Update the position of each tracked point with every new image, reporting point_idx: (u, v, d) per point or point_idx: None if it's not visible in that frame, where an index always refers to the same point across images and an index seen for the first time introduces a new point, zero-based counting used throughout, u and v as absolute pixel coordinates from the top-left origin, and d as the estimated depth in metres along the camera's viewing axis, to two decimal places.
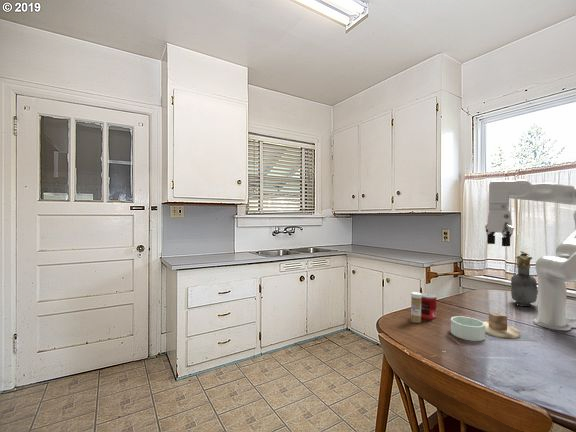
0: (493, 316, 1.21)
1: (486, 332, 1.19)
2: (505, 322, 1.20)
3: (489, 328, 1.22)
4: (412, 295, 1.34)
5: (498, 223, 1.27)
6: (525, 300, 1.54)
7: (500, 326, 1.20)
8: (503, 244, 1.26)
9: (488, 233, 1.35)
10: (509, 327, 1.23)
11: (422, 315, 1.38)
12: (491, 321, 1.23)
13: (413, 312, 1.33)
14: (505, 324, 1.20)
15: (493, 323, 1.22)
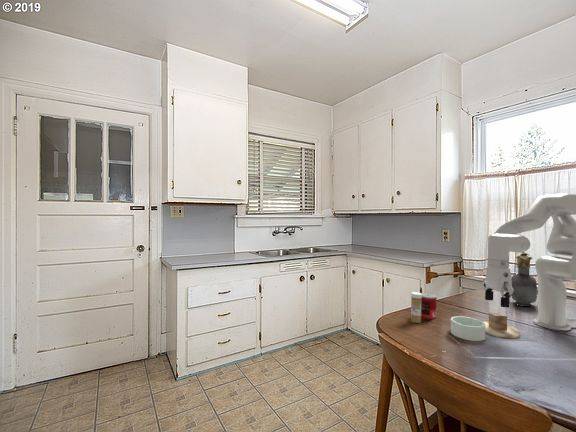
0: (493, 316, 1.21)
1: (486, 332, 1.19)
2: (505, 322, 1.20)
3: (489, 328, 1.22)
4: (412, 295, 1.34)
5: (497, 281, 1.19)
6: (525, 300, 1.54)
7: (500, 326, 1.20)
8: (502, 305, 1.17)
9: (486, 288, 1.27)
10: (509, 327, 1.23)
11: (422, 315, 1.38)
12: (491, 321, 1.23)
13: (413, 312, 1.33)
14: (505, 324, 1.20)
15: (493, 323, 1.22)
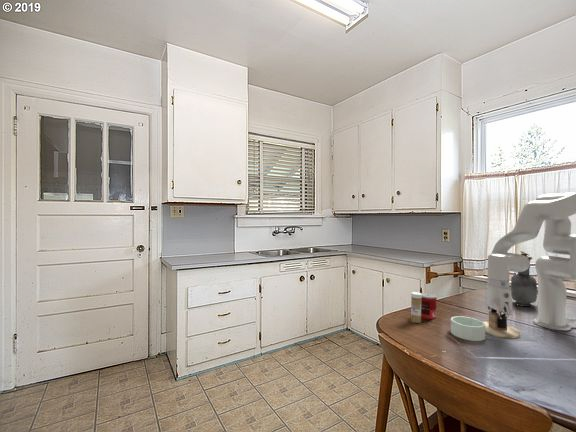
0: (493, 316, 1.21)
1: (486, 332, 1.19)
2: None
3: (489, 328, 1.22)
4: (412, 295, 1.34)
5: (497, 302, 1.19)
6: (525, 300, 1.54)
7: None
8: (499, 326, 1.20)
9: (490, 311, 1.25)
10: (509, 327, 1.23)
11: (422, 315, 1.38)
12: (491, 321, 1.23)
13: (413, 312, 1.33)
14: None
15: (493, 323, 1.22)
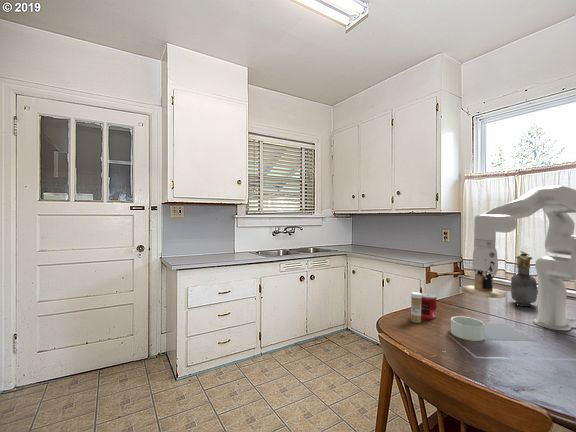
0: (479, 277, 1.20)
1: (471, 292, 1.18)
2: None
3: (475, 289, 1.20)
4: (412, 295, 1.34)
5: (483, 262, 1.17)
6: (525, 300, 1.54)
7: None
8: (484, 286, 1.18)
9: (476, 273, 1.23)
10: (495, 289, 1.21)
11: (422, 315, 1.38)
12: (477, 283, 1.21)
13: (413, 312, 1.33)
14: None
15: (478, 285, 1.20)
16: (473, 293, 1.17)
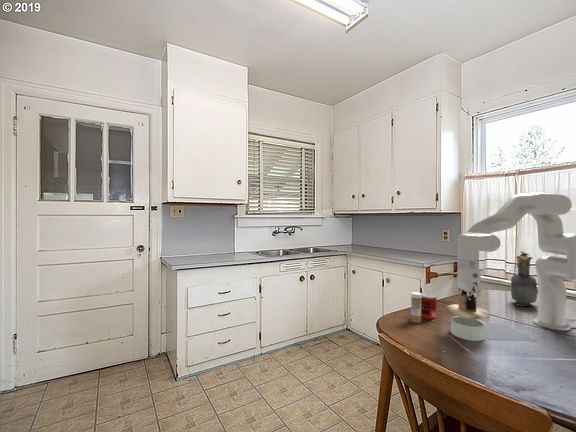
0: (462, 297, 1.18)
1: (454, 313, 1.16)
2: (475, 303, 1.17)
3: (458, 310, 1.19)
4: (412, 295, 1.34)
5: (466, 282, 1.16)
6: (525, 300, 1.54)
7: None
8: (468, 307, 1.16)
9: (460, 293, 1.21)
10: (479, 309, 1.20)
11: (422, 315, 1.38)
12: (461, 303, 1.19)
13: (413, 312, 1.33)
14: None
15: (462, 305, 1.18)
16: (456, 314, 1.15)
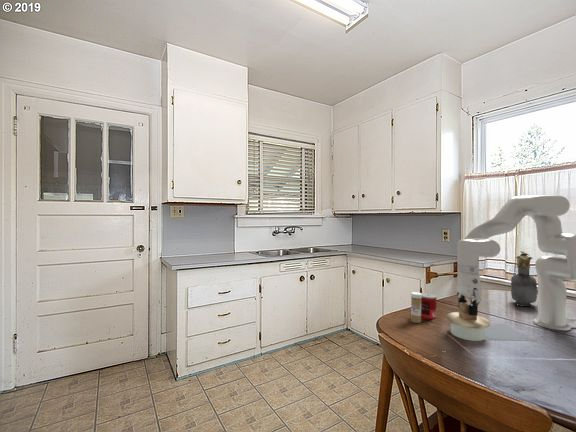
0: (463, 306, 1.18)
1: (455, 322, 1.16)
2: None
3: (459, 318, 1.19)
4: (412, 295, 1.34)
5: (466, 288, 1.16)
6: (525, 300, 1.54)
7: (470, 316, 1.17)
8: (470, 313, 1.15)
9: (459, 297, 1.23)
10: (480, 317, 1.20)
11: (422, 315, 1.38)
12: (461, 311, 1.19)
13: (413, 312, 1.33)
14: None
15: (462, 313, 1.18)
16: (457, 323, 1.15)
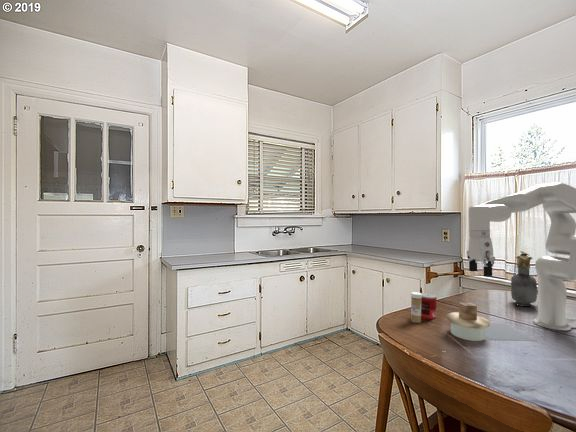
0: (463, 306, 1.18)
1: (455, 322, 1.16)
2: (475, 312, 1.17)
3: (459, 318, 1.19)
4: (412, 295, 1.34)
5: (479, 251, 1.20)
6: (525, 300, 1.54)
7: (470, 316, 1.17)
8: (485, 274, 1.18)
9: (470, 260, 1.28)
10: (480, 317, 1.20)
11: (422, 315, 1.38)
12: (461, 311, 1.19)
13: (413, 312, 1.33)
14: (475, 314, 1.17)
15: (462, 313, 1.18)
16: (457, 323, 1.15)
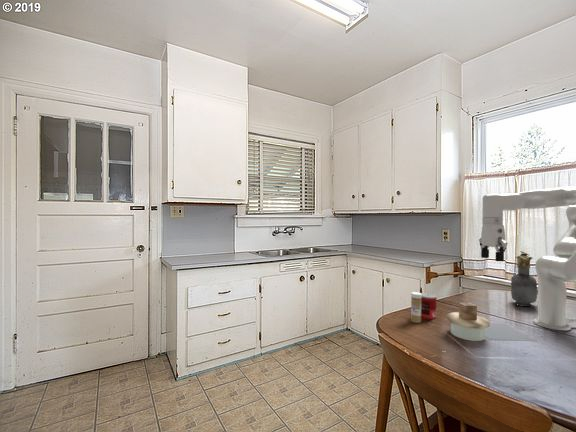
0: (463, 306, 1.18)
1: (455, 322, 1.16)
2: (475, 312, 1.17)
3: (459, 318, 1.19)
4: (412, 295, 1.34)
5: (492, 237, 1.26)
6: (525, 300, 1.54)
7: (470, 316, 1.17)
8: (497, 259, 1.24)
9: (482, 247, 1.34)
10: (480, 317, 1.20)
11: (422, 315, 1.38)
12: (461, 311, 1.19)
13: (413, 312, 1.33)
14: (475, 314, 1.17)
15: (462, 313, 1.18)
16: (457, 323, 1.15)
